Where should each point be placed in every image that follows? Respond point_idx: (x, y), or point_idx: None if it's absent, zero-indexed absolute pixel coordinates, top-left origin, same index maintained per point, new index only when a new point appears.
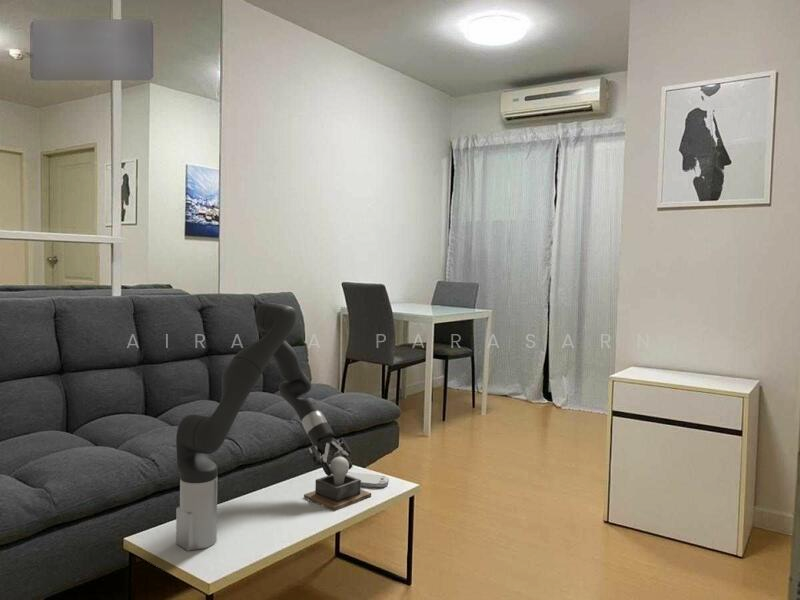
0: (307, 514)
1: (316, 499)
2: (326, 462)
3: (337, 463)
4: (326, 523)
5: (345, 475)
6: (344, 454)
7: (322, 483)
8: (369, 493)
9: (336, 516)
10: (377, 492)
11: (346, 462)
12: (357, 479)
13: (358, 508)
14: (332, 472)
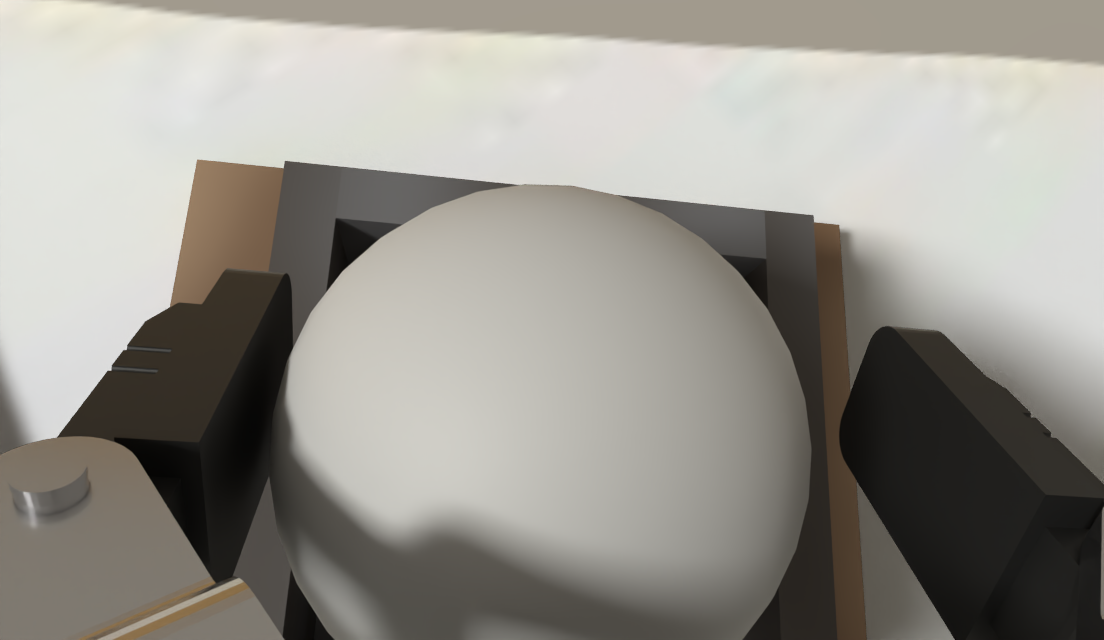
0: (1085, 383)
1: (854, 552)
2: (1088, 500)
3: (768, 314)
4: (1050, 110)
5: (271, 523)
6: (169, 520)
7: (823, 581)
8: (223, 171)
9: (892, 135)
10: (35, 195)
11: (508, 193)
12: (302, 214)
13: (598, 87)
14: (889, 327)
